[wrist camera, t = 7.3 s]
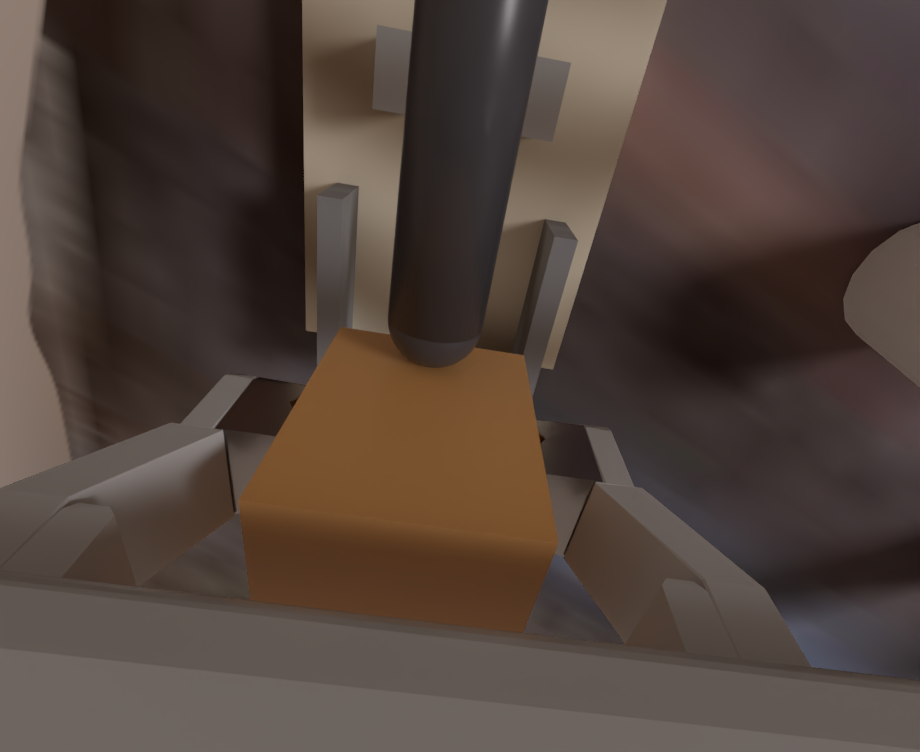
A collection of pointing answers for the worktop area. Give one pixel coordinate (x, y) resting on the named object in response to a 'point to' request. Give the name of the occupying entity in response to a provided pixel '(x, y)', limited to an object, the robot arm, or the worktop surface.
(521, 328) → the board
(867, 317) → the shot glass
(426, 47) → the plug
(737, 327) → the worktop surface
